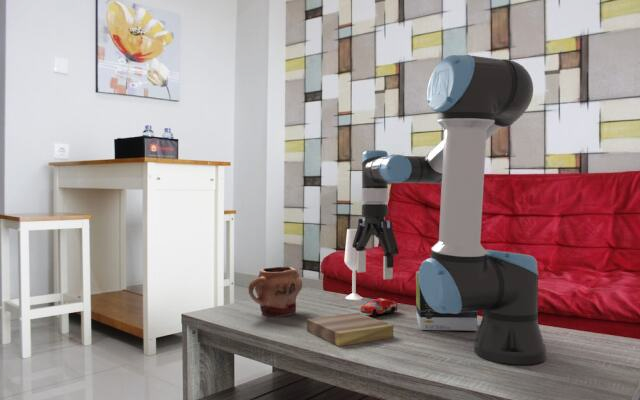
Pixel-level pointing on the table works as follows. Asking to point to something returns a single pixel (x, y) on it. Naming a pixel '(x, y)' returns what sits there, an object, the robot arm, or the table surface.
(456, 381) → the table surface
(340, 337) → the square wooden board
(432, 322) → the tea box
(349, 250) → the champagne flute
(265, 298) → the terracotta clay mug
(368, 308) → the race car
